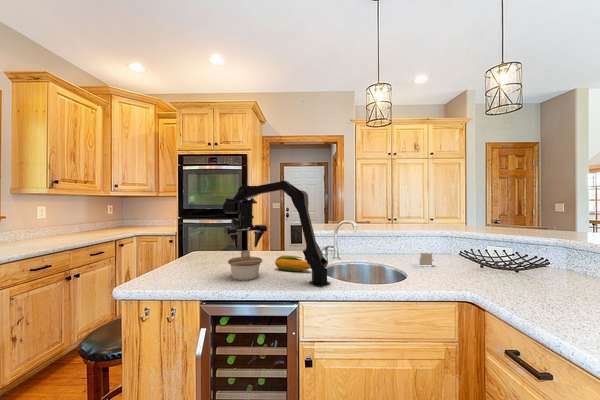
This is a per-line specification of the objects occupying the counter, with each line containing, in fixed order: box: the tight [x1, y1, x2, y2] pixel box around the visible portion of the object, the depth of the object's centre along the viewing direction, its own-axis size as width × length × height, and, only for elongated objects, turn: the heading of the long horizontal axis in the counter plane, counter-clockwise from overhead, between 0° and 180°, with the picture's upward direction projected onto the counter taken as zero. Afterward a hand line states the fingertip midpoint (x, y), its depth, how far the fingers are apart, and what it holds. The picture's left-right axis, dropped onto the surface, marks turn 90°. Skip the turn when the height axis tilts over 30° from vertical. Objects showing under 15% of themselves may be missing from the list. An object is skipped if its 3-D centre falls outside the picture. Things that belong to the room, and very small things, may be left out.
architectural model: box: [418, 252, 435, 266], centre depth 142 cm, size 3×7×7 cm, turn 79°
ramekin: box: [229, 263, 261, 281], centre depth 121 cm, size 13×13×7 cm
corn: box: [274, 255, 312, 272], centre depth 132 cm, size 7×8×20 cm
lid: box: [227, 250, 263, 266], centre depth 121 cm, size 15×15×5 cm
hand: (246, 248), depth 121 cm, fingers open, 9 cm apart
